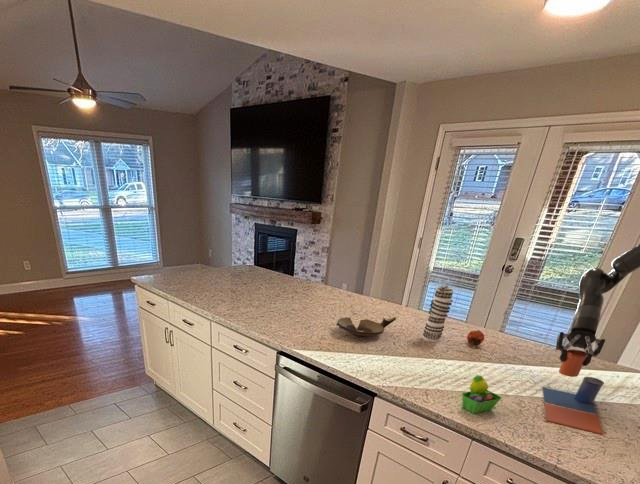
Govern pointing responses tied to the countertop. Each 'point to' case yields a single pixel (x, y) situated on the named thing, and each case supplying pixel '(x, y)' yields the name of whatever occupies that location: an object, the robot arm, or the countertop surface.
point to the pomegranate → (475, 337)
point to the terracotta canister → (573, 362)
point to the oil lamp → (364, 326)
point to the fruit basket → (479, 396)
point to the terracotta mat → (573, 418)
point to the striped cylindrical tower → (438, 313)
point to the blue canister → (588, 390)
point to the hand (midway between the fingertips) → (573, 362)
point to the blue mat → (566, 400)
